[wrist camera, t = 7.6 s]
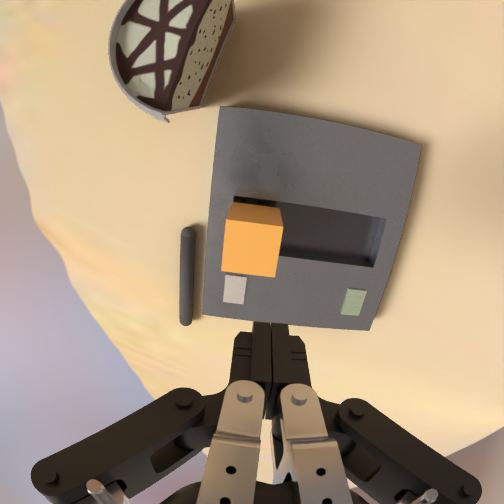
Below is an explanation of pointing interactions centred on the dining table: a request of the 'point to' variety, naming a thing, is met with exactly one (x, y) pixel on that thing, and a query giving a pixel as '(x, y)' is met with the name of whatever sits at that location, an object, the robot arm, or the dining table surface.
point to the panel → (309, 216)
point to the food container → (168, 51)
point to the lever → (252, 239)
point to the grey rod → (186, 274)
